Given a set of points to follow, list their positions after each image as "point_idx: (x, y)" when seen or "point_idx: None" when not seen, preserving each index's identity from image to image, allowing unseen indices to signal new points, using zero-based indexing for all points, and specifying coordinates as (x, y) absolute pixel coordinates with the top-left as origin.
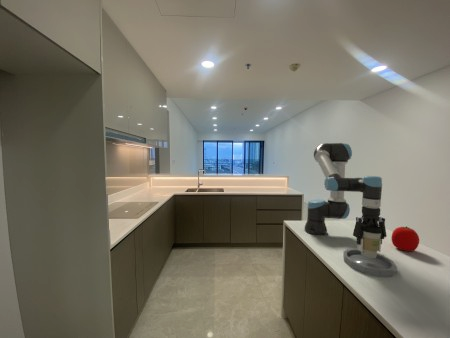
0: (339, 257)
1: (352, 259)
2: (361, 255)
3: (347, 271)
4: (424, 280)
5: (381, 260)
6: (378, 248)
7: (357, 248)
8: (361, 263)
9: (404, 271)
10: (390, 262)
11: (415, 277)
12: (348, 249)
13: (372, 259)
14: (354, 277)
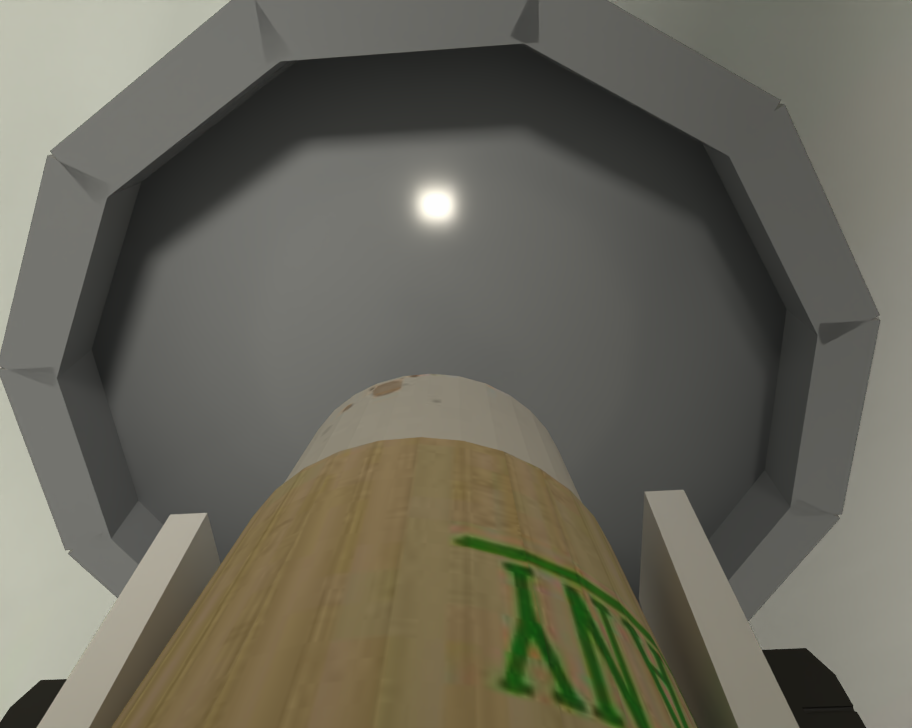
0: (22, 167)
1: (193, 341)
2: (481, 172)
3: (15, 569)
4: (872, 705)
5: (735, 363)
6: (655, 636)
7: (162, 531)
8: (287, 461)
9: (840, 557)
10: (758, 531)
11: (832, 662)
12: (226, 26)
13: (592, 329)
14: (57, 669)
